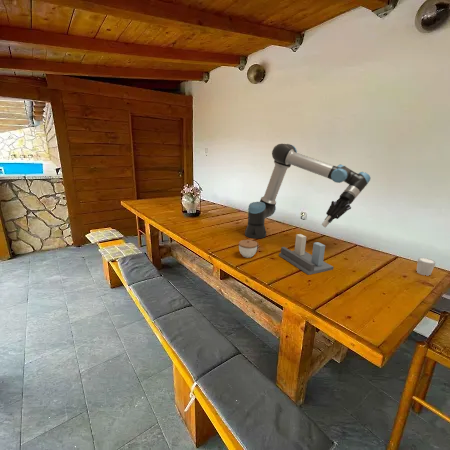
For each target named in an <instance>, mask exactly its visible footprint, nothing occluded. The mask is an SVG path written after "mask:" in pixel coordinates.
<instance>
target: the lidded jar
mask: <svg viewBox="0 0 450 450" xmlns="http://www.w3.org/2000/svg"><path fill="white" fill-rule="evenodd" d="M238 250H239V253H240V254H241V256H242V257H244V258H247V259H248V258H252V257H253V256H254V255H256V253H257V251H258V242H257V241H255V240H251V239H242V240H240V241H239V242H238Z"/></svg>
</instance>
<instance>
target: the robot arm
mask: <svg viewBox="0 0 450 450" xmlns="http://www.w3.org/2000/svg"><path fill="white" fill-rule="evenodd" d="M271 155H272V159H273V160H274V161H273V163H274V167H273V170H272V173H271V176H270V179H269V181H268V184H267V186H266V188H265V189H266V190H265V192H264V196H261V198H260V200H259V201H253V202H251V203H249V204H248V209H247V211H248V212H247V213H248V215H247V225H246V229H245V233H244V235H245V236H246V237H247V238H250V239H255V240H256V239H257V240H258V239H264V238H266V237H267V231H266V227H265V220H266V219H267V218H270V217H271V216H273V214H275V212H276V210H277V207H276V205H277V200H276V199H277V197H278V194H279V191H280V188H281V186H282V183H283V180H284V178H285V175H286V173H287V170H288V169H289V168H291V166H294V167H296V168H300V169H302V170H305V171H308V172H310V173H313V174H315V175H318V176H321V177H324V178H326V179H329V180H332V181H333V182H334V183H337V184H338V183H339V184H340V183H343V182H344V183H346V184H347V187H346V188H345V189H344V190H343V191H342V193H341V194H340V195H339V198H338V199H336V200H335V201H334V200H332V201H331V202H330V203H331V204H330V205H329V207H328V209H327V211H326V215H327V216H326V217H325V218H324V221H323V222H322V223H321V226H323V227H324V228H326V227H327V226H328V225H330V224H331V223H332V222H333V220H334V219H336V220H339V219H340V218H341V217H342V216H343V215H344V214H345V213H347V211H349V210H351V209H352V206H351V204H352V203H353V202H354V201H355V199H356V198H357V197H358V196H359V195H360V194H361V193H362V191H363V190H364V189H365V187H367V186H368V184H369V182H370V181H371V175H370V174H368V172H364V171H360V172H358V173H357V172H355V171H353V170H352V169H351V168H348V167H347V166H346V165H343V164H338V165H337V166H336V165H333V164H331V163H328V162H325V161H322V160H319V159H317V158H316V159H315V158H314V157H310V156H308V155H305V154H303V153H302V154H301V153H299V152H298V150H297V148H296V147H295V145H292V144H291V143H278V144H276V145H275V146H274V147H273V148H272V151H271Z"/></svg>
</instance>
